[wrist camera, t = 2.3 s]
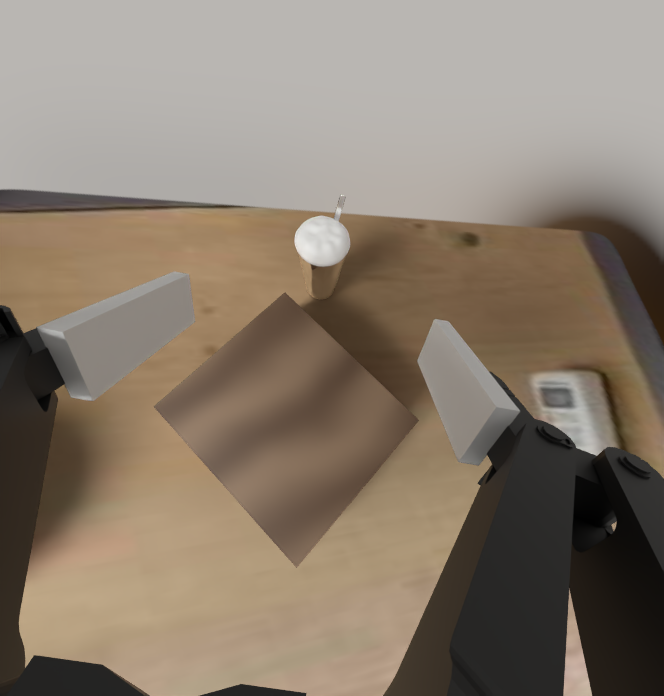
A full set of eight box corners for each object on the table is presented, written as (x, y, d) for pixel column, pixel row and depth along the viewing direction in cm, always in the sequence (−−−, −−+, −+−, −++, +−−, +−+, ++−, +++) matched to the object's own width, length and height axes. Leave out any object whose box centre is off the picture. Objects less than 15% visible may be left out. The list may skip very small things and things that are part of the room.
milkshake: (350, 275, 29) (369, 208, 19) (327, 312, 28) (334, 261, 18) (316, 257, 29) (318, 181, 20) (292, 292, 28) (281, 231, 18)
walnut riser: (185, 406, 24) (153, 406, 20) (290, 312, 27) (284, 292, 23) (300, 533, 23) (296, 567, 18) (399, 417, 26) (418, 420, 21)
